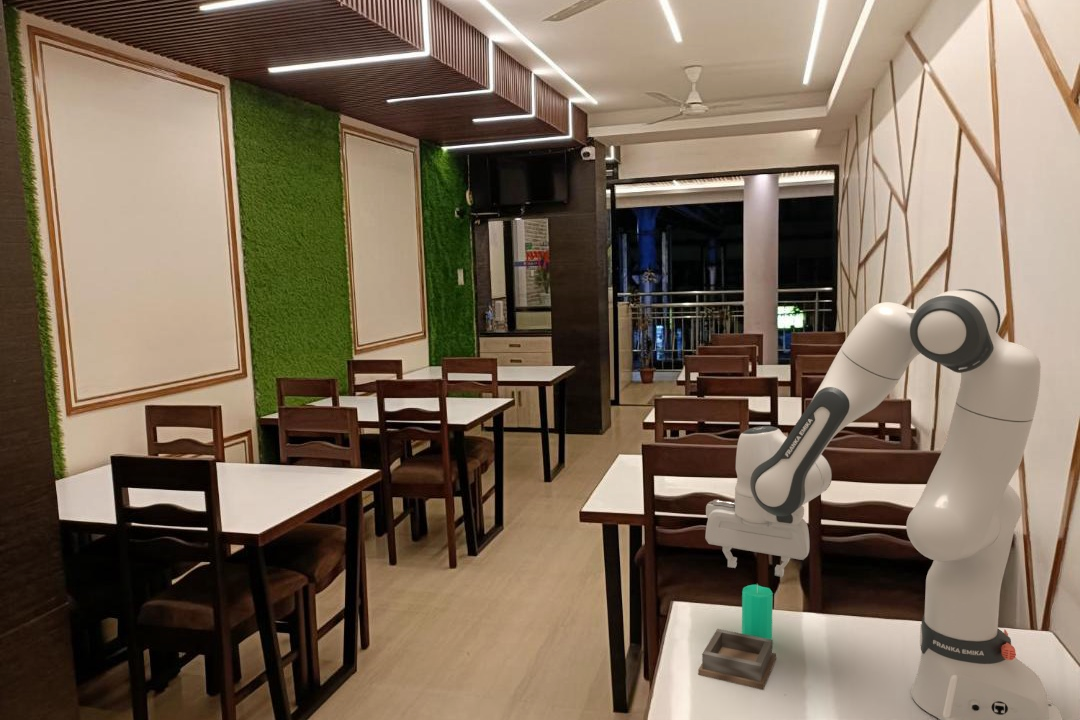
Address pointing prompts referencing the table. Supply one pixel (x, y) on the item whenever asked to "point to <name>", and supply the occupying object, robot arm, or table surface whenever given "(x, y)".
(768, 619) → the candle
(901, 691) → the table surface
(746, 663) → the holder
